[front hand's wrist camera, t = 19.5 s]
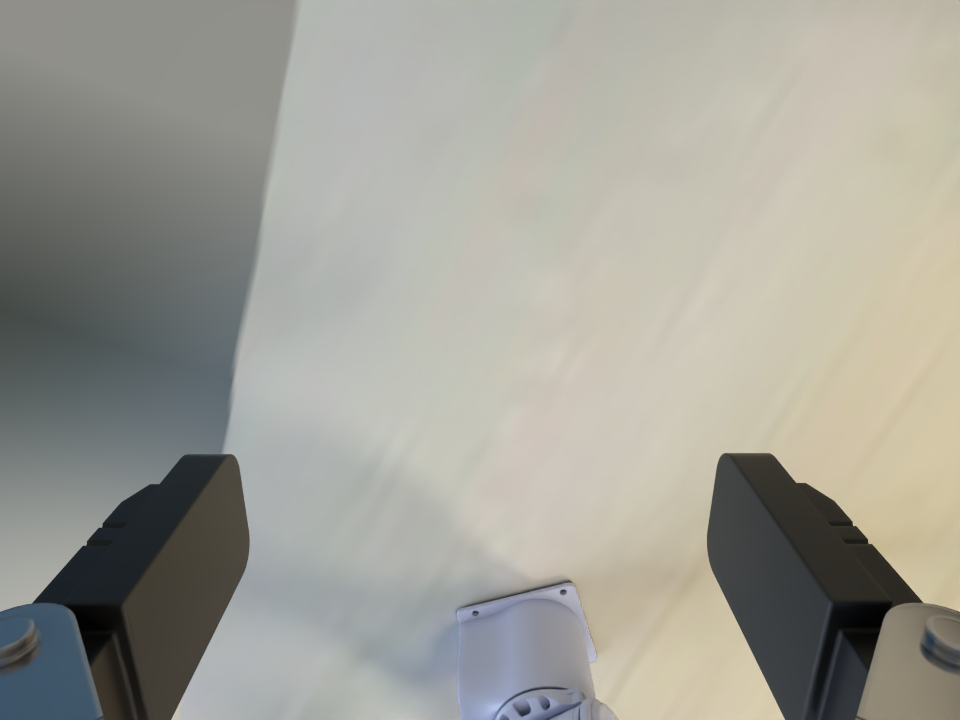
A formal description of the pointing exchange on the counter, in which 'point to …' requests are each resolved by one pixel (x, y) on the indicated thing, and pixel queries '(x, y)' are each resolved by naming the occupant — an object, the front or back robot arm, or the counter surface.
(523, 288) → the counter surface
